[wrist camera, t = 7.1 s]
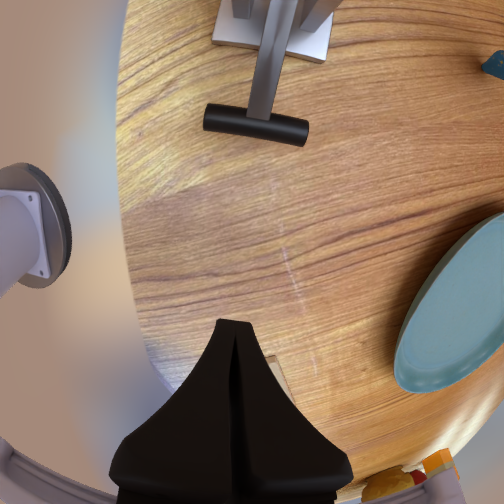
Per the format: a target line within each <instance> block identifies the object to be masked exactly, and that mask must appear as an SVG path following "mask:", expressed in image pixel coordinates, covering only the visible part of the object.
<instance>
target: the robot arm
mask: <svg viewBox="0 0 504 504" xmlns="http://www.w3.org/2000/svg"><path fill="white" fill-rule="evenodd" d="M31 196H32V198H31ZM25 273H29V274H32V275H36V276H39V277H43V278H49V277H50V276H51V271H50V266H49V261H48V255H47V249H46V243H45V236H44V229H43V220H42V210H41V197H40V194H39V193H38V192H36V191H23V190H7V189H0V299H1V297H2V296H3V295H4V294H5V293H6V292H7V291H8V290H9V289H10V288H11V287H12V286H13V285H14V284H15V283H16V282H17V281H18V280H19V279H20V278H21V277H22V276H23V275H24V274H25ZM109 477H110V478H111V480H112V481H113V482H114V483H115V484H117V485H118V486H119V491H118V496H114V495H111V494H108V493H105V492H102V491H100V490H97V489H94V488H91V487H89V486H86V485H84V484H81V483H79V482H77V481H74V480H72V479H70V478H67V477H65V476H63V475H61V474H59V473H57V472H55V471H53V470H51V469H49V468H47V467H45V466H43V465H41V464H39V463H37V462H36V461H34V460H32V459H30V458H28V457H27V456H25V455H24V454H22V453H20V452H19V451H17V450H15V449H14V448H13V447H12V446H11V445H10V444H9V443H8V442H7V441H6V440H4V439H3V438H2V437H0V499H1V500H2V501H3V502H5V503H6V504H334V500H337V494H336V491H337V490H339V489H340V488H342V487H344V486H346V485H347V484H349V483H350V482H351V481H352V480H353V478H354V476H353V472H352V468H351V465H350V462H349V460H348V457H347V454H345V453H344V452H343V451H341V450H340V449H339V448H338V447H336V446H335V445H334V444H332V443H331V442H330V441H329V440H328V439H326V438H325V437H324V436H323V435H322V434H321V433H320V432H319V431H318V430H317V429H316V428H315V427H314V426H313V425H312V424H311V423H310V422H309V421H308V420H307V419H306V418H305V417H304V416H303V414H302V413H301V412H300V411H299V410H298V409H297V407H296V406H295V405H294V404H293V402H292V401H291V400H290V398H289V397H288V396H287V394H286V393H285V392H284V390H283V389H282V387H281V385H280V384H279V382H278V381H277V379H276V377H275V376H274V374H273V372H272V370H271V369H270V367H269V365H268V363H267V361H266V359H265V357H264V355H263V353H262V350H261V348H260V346H259V343H258V341H257V338H256V336H255V333H254V330H253V326H252V324H251V323H250V322H243V321H235V320H228V319H221V318H220V319H218V320H217V321H216V326H215V329H214V332H213V334H212V336H211V339H210V341H209V343H208V345H207V347H206V348H205V350H204V352H203V354H202V356H201V357H200V359H199V360H198V362H197V364H196V365H195V367H194V368H193V370H192V371H191V373H190V374H189V375H188V377H187V378H186V379H185V381H184V382H183V383H182V385H181V386H180V387H179V388H178V389H177V391H176V392H175V393H174V394H173V395H172V396H171V398H170V399H169V400H168V401H167V402H166V403H165V404H164V405H163V406H162V407H161V408H160V409H159V410H158V411H157V412H156V413H155V414H153V415H152V416H151V417H150V418H149V419H148V420H147V421H146V422H145V423H143V424H142V425H141V426H140V427H138V428H137V429H136V430H134V431H133V432H132V433H130V434H129V435H128V436H126V437H125V438H124V440H123V441H122V442H121V444H120V446H119V447H118V449H117V451H116V453H115V455H114V458H113V460H112V463H111V467H110V471H109ZM359 504H466V502H465V499H464V495H463V492H462V489H461V486H460V483H459V480H458V478H457V475H456V472H455V469H454V467H450V468H448V469H446V470H444V471H442V472H440V473H438V474H436V475H434V476H432V477H430V478H428V479H427V480H425V481H424V482H423V483H420V484H418V485H415V486H413V487H410V488H408V489H405V490H402V491H399V492H396V493H393V494H390V495H387V496H384V497H381V498H377V499H374V500H370V501H367V502H363V503H359Z"/></svg>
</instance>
